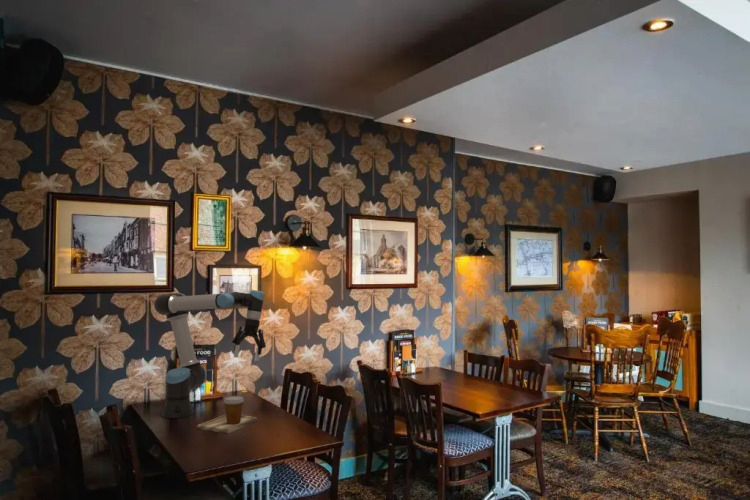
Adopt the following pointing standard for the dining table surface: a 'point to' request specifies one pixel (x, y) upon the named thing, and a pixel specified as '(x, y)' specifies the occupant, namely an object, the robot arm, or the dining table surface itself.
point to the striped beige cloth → (225, 424)
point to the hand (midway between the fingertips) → (246, 359)
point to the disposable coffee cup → (233, 409)
